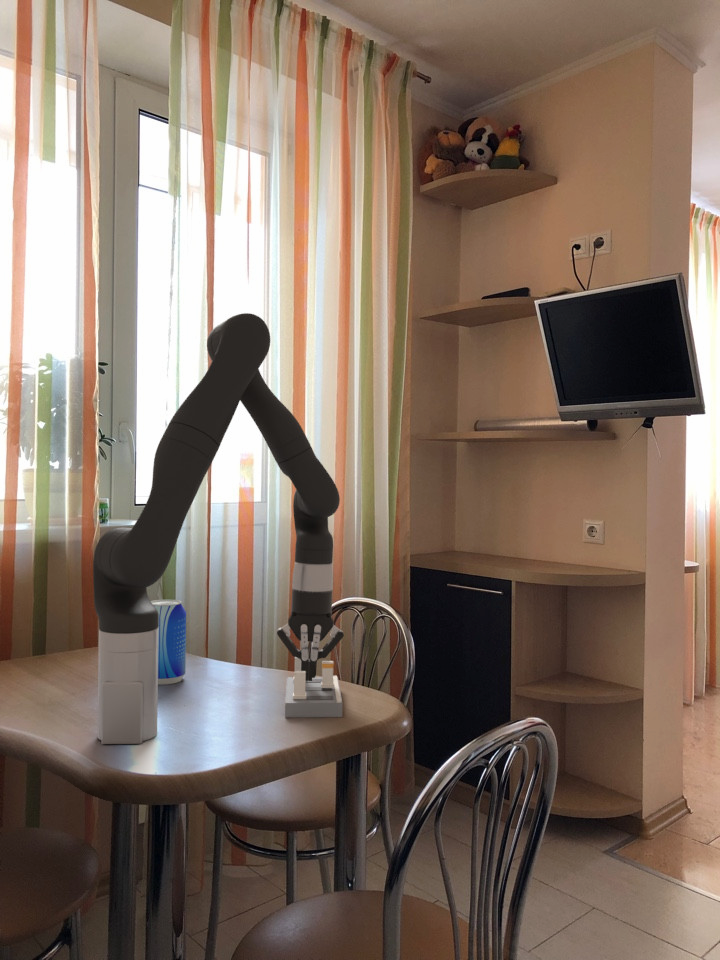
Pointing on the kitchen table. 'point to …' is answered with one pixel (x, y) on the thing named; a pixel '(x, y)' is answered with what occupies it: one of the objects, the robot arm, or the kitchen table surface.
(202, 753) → the kitchen table surface
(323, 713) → the breaker panel
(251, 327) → the robot arm
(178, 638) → the beer can
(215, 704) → the kitchen table surface
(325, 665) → the breaker toggle
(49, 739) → the kitchen table surface
